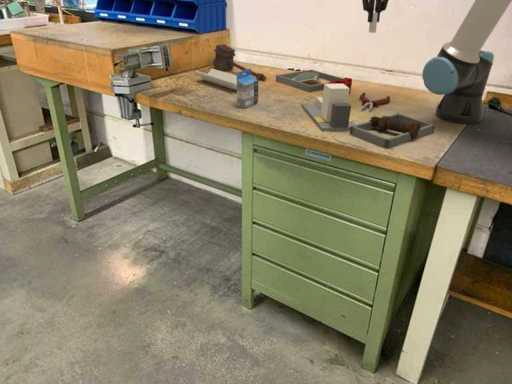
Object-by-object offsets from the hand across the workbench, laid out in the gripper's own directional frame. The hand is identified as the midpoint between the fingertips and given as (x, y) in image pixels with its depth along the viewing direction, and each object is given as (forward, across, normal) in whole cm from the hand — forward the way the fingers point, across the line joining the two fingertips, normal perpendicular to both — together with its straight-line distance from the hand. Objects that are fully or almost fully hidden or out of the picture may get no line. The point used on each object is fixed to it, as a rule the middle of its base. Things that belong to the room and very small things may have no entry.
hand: (372, 32), depth 149 cm
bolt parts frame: (+29, +4, +31) cm, 43 cm away
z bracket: (+22, +50, -29) cm, 62 cm away
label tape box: (+25, +45, -1) cm, 52 cm away
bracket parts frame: (+21, +13, -31) cm, 40 cm away
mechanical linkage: (+24, +4, -16) cm, 29 cm away
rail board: (+27, +20, +15) cm, 36 cm away
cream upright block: (+26, +20, +20) cm, 38 cm away
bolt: (+29, +4, +31) cm, 43 cm away
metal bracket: (+22, +15, -32) cm, 42 cm away
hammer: (+19, +42, -48) cm, 66 cm away
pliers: (+26, -1, 0) cm, 26 cm away
